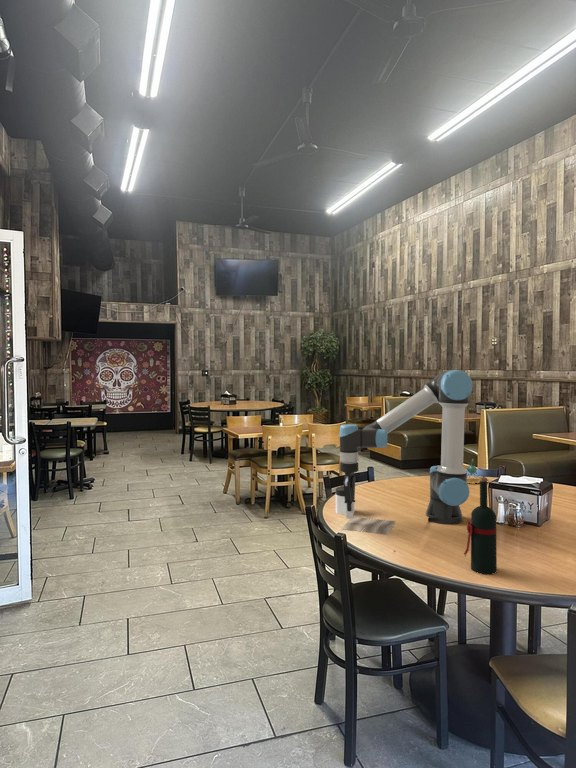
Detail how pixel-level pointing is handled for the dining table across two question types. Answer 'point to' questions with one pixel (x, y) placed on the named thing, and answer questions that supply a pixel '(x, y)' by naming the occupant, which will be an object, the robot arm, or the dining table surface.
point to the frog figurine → (472, 470)
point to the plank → (356, 524)
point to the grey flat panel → (383, 528)
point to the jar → (340, 501)
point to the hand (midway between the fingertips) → (350, 518)
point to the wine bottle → (482, 535)
